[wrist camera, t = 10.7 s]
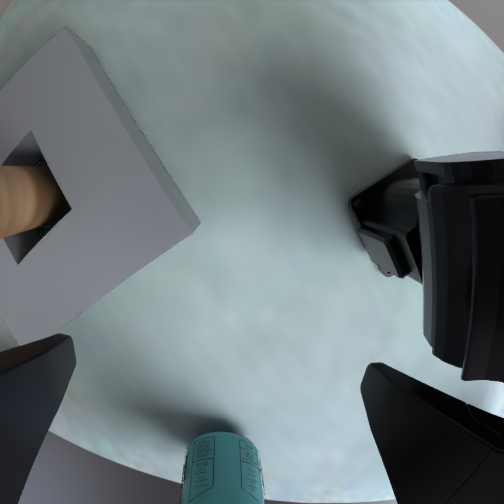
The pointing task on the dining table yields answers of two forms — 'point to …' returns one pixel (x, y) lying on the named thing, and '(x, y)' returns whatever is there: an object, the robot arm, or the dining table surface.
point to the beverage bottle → (222, 471)
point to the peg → (29, 199)
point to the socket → (80, 190)
